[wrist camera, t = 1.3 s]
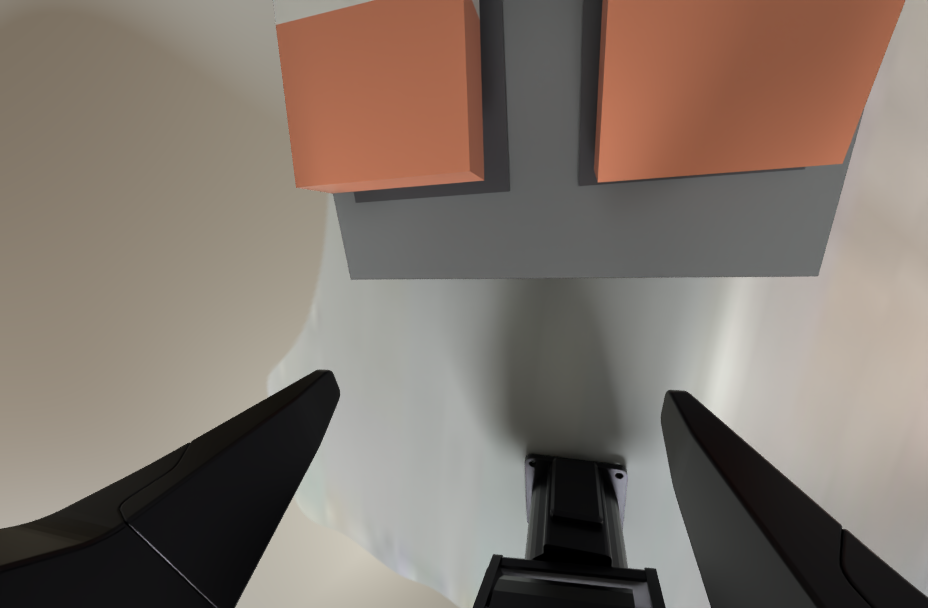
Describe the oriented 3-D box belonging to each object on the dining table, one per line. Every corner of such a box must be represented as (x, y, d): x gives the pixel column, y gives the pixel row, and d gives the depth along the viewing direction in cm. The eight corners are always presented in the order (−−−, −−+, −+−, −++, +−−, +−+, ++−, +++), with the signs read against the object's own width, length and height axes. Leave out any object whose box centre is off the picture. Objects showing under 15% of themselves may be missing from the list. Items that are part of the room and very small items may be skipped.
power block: (723, 236, 17) (823, 284, 10) (414, 247, 21) (347, 285, 15) (781, -103, 13) (1012, -387, 6) (380, -2, 17) (264, -105, 10)
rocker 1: (487, 182, 10) (469, 171, 8) (339, 194, 12) (296, 187, 10) (478, -153, 9) (454, -258, 7) (310, -94, 10) (251, -168, 8)
